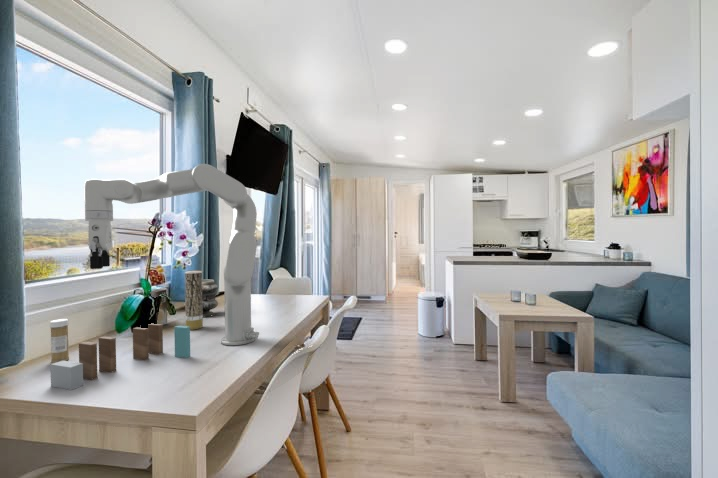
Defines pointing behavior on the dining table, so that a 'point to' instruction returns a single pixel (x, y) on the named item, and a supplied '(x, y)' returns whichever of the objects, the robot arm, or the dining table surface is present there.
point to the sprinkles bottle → (59, 340)
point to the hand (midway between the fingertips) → (100, 267)
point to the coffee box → (161, 306)
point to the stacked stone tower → (208, 297)
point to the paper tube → (193, 299)
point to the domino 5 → (182, 341)
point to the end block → (66, 375)
